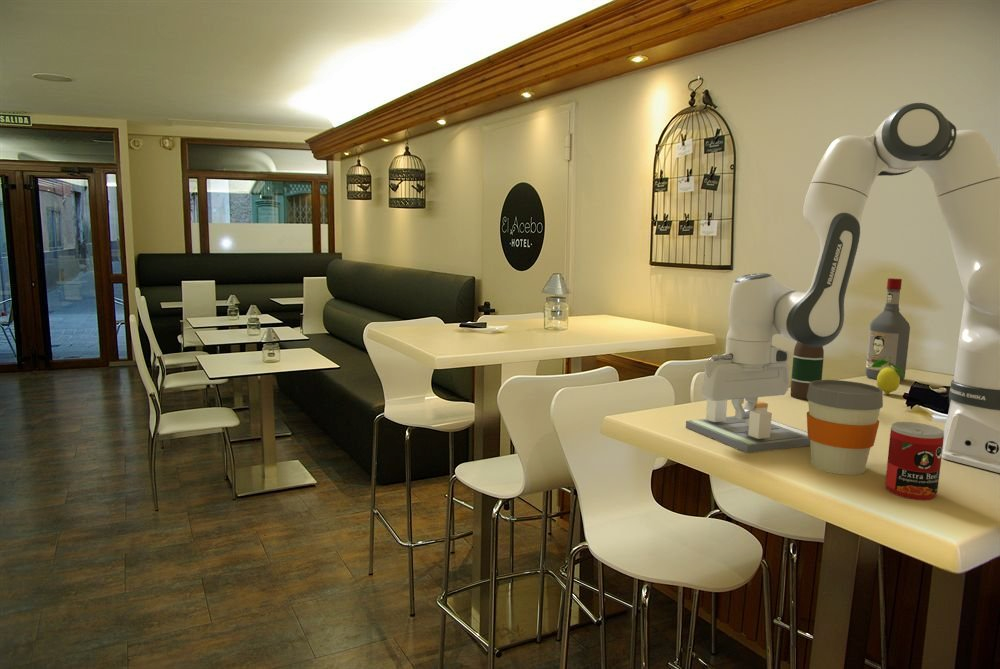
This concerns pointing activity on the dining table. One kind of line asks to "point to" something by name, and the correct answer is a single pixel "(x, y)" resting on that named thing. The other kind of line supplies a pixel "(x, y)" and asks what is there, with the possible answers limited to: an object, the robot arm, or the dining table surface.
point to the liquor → (888, 334)
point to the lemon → (888, 376)
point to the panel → (738, 437)
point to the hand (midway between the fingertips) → (743, 418)
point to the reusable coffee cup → (842, 424)
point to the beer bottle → (805, 369)
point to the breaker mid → (758, 406)
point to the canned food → (914, 460)
